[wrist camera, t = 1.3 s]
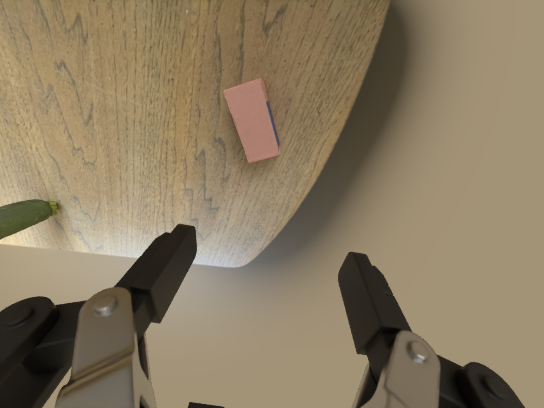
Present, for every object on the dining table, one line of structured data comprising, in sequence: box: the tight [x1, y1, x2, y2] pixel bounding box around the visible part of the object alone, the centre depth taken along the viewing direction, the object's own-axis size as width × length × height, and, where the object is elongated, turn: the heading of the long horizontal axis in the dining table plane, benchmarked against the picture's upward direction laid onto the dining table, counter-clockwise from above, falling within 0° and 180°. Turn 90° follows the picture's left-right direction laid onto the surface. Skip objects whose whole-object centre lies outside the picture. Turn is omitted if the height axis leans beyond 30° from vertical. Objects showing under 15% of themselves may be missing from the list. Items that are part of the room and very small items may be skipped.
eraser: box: [223, 78, 281, 163], centre depth 20 cm, size 4×7×3 cm, turn 16°
